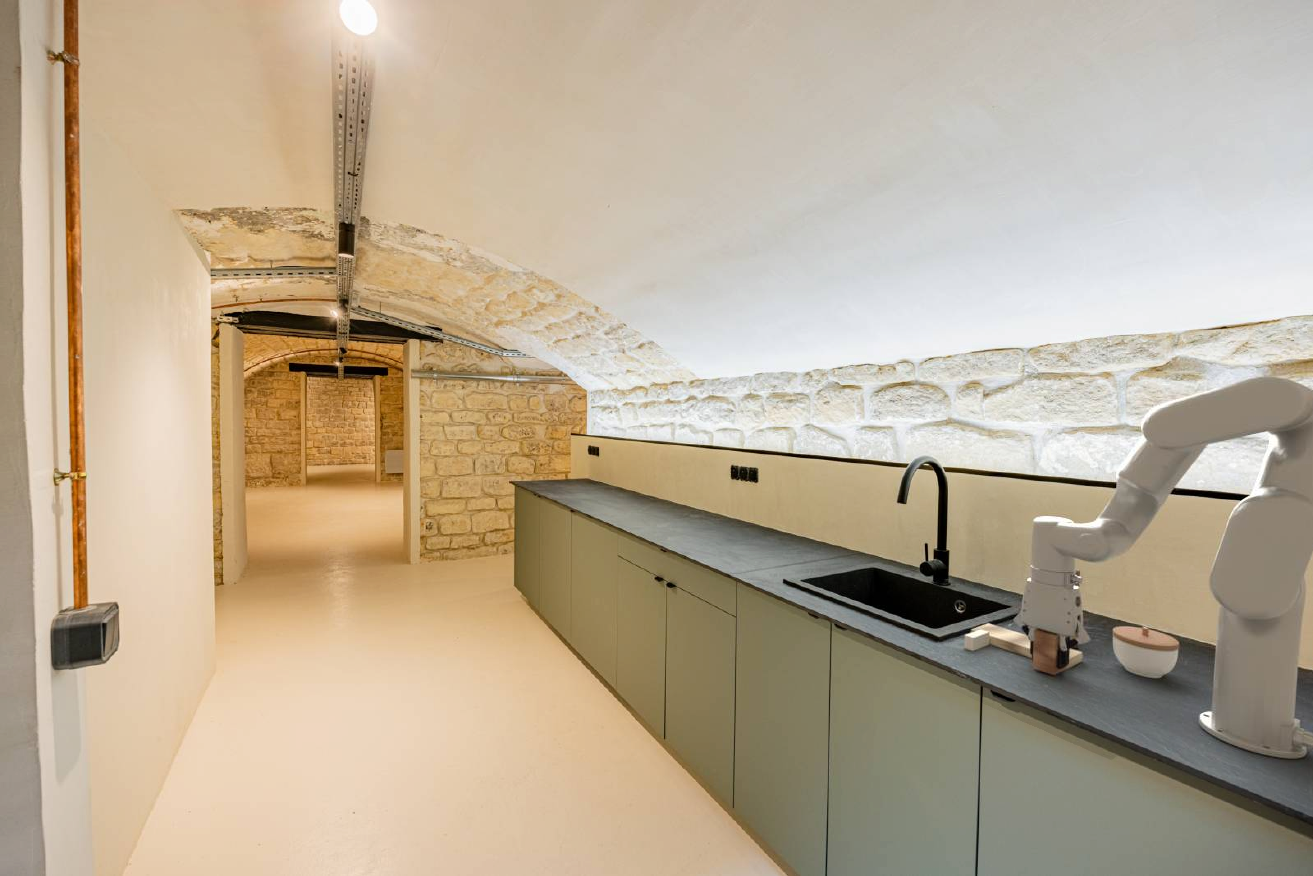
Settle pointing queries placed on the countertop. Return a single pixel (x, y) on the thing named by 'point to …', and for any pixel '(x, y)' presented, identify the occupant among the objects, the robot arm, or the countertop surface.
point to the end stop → (976, 640)
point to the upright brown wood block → (1046, 651)
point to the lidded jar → (1145, 651)
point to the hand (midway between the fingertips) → (1048, 662)
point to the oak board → (1019, 642)
